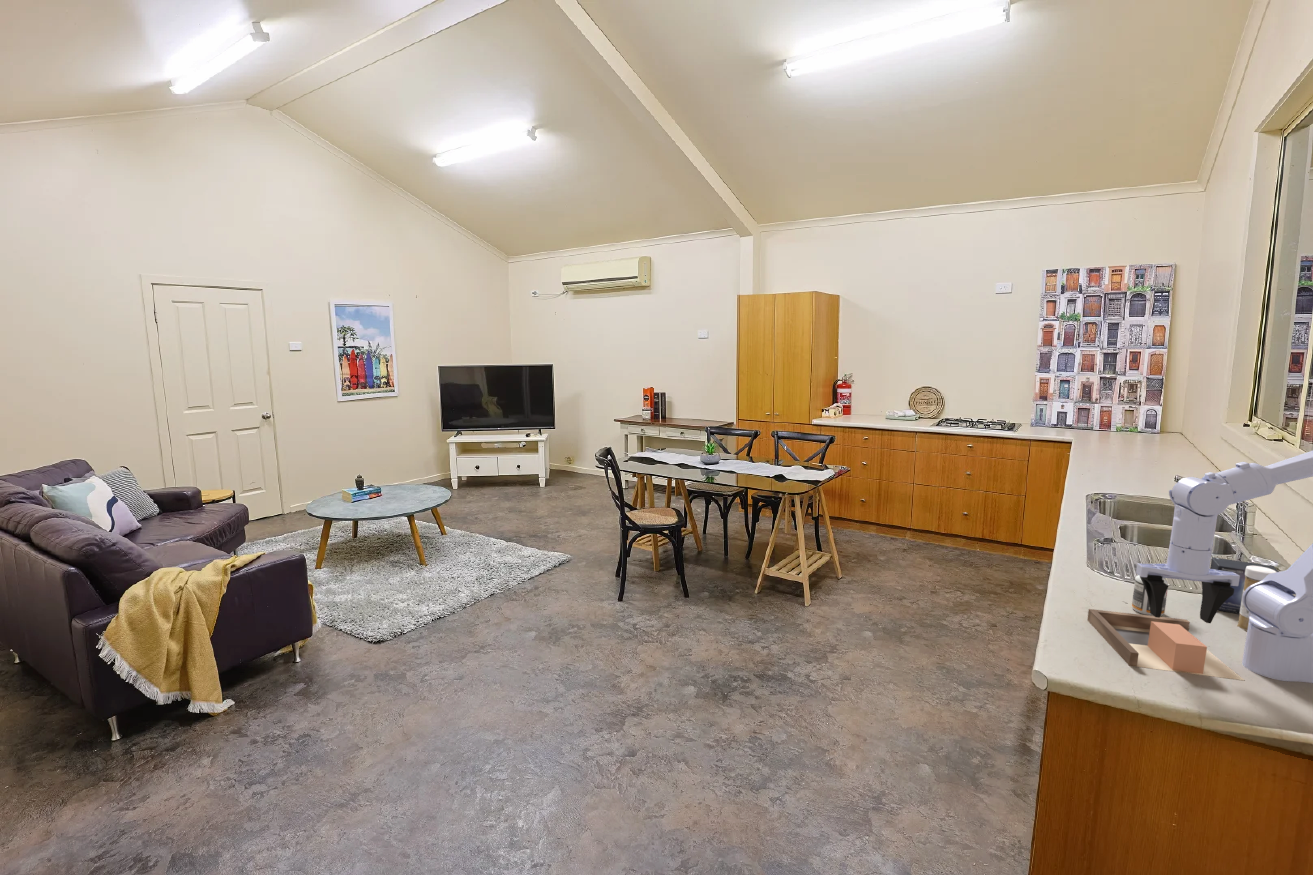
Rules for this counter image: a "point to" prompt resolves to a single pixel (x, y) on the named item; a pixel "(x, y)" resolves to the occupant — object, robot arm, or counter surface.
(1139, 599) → the pill bottle
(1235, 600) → the small box
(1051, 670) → the counter surface
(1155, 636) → the terracotta bar
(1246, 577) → the sprinkles bottle
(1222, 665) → the tray
